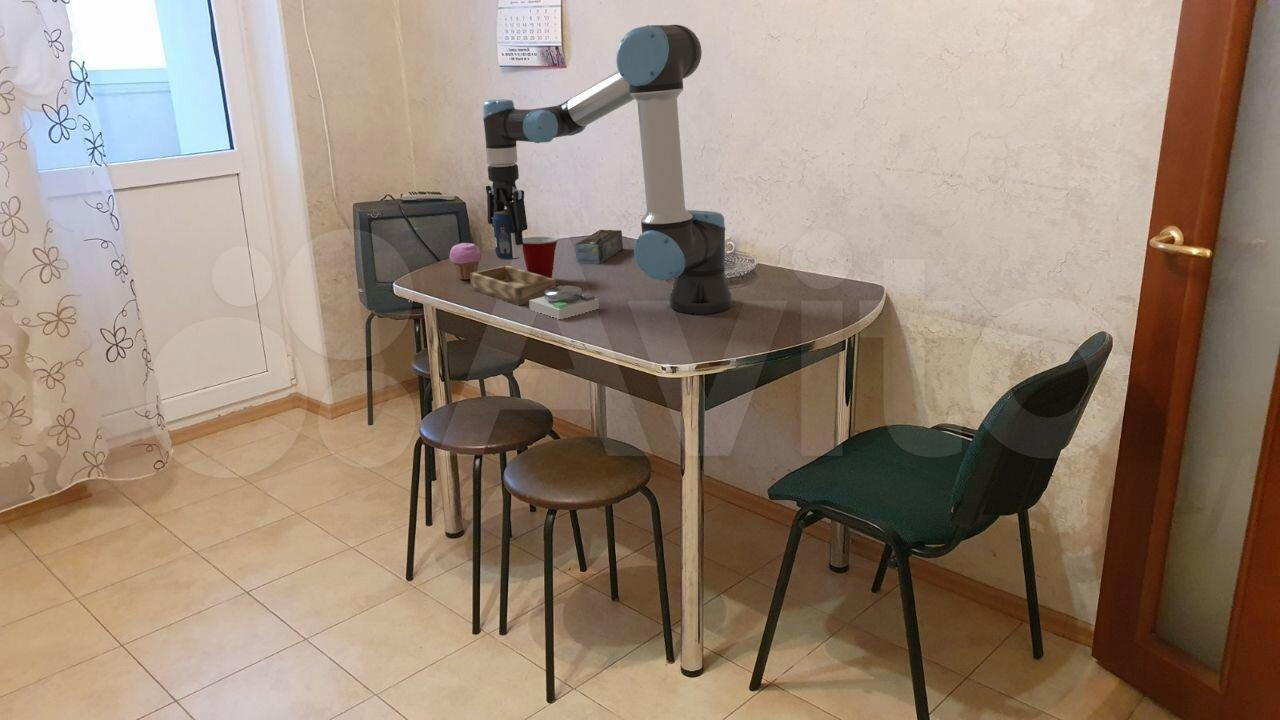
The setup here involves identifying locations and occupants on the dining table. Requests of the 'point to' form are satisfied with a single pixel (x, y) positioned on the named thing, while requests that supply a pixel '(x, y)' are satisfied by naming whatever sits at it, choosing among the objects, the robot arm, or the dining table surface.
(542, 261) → the plastic cup
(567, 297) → the shiny metal disc
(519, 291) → the trough
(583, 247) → the beverage carton
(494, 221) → the soda can
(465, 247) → the cupcake
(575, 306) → the white flat block
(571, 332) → the dining table surface
